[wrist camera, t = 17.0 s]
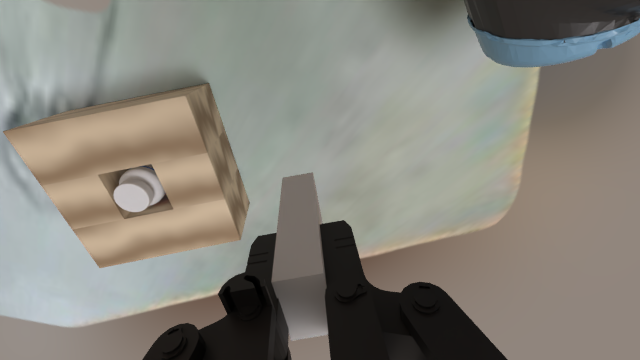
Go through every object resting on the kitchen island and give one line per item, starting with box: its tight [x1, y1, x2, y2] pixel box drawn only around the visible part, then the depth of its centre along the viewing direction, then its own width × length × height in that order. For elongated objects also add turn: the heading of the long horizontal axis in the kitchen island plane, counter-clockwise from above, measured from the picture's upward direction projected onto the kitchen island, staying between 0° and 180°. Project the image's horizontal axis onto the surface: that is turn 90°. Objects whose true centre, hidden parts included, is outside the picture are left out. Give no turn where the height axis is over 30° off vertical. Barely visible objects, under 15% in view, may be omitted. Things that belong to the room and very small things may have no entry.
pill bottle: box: [113, 164, 166, 212], centre depth 38 cm, size 6×5×10 cm
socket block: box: [3, 83, 249, 268], centre depth 40 cm, size 20×20×10 cm
